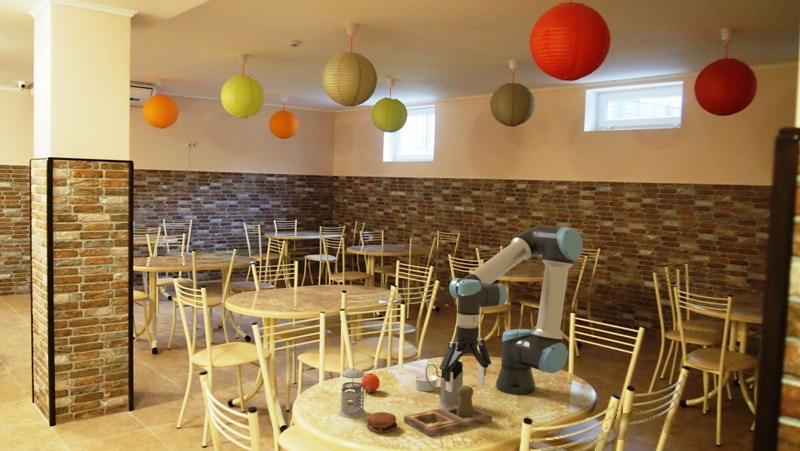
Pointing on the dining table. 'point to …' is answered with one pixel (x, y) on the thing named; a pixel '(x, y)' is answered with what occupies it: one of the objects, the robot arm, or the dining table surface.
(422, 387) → the ramekin
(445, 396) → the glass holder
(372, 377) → the tomato
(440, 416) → the socket rail
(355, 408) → the french press
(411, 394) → the dining table surface
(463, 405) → the cork
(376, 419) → the burger
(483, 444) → the dining table surface
